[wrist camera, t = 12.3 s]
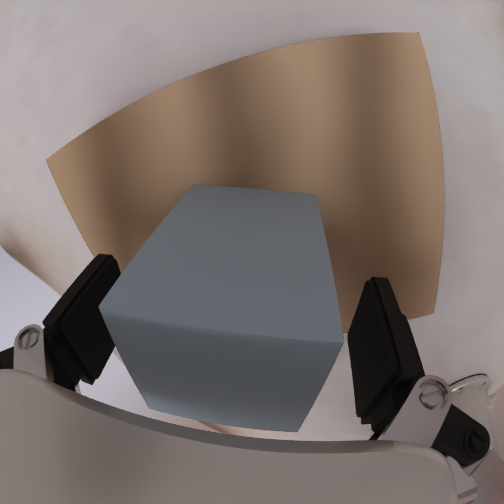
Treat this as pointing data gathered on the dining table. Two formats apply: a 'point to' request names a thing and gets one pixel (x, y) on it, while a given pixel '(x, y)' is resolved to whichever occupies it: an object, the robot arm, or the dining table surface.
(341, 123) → the riser block
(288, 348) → the blue block
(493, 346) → the dining table surface
